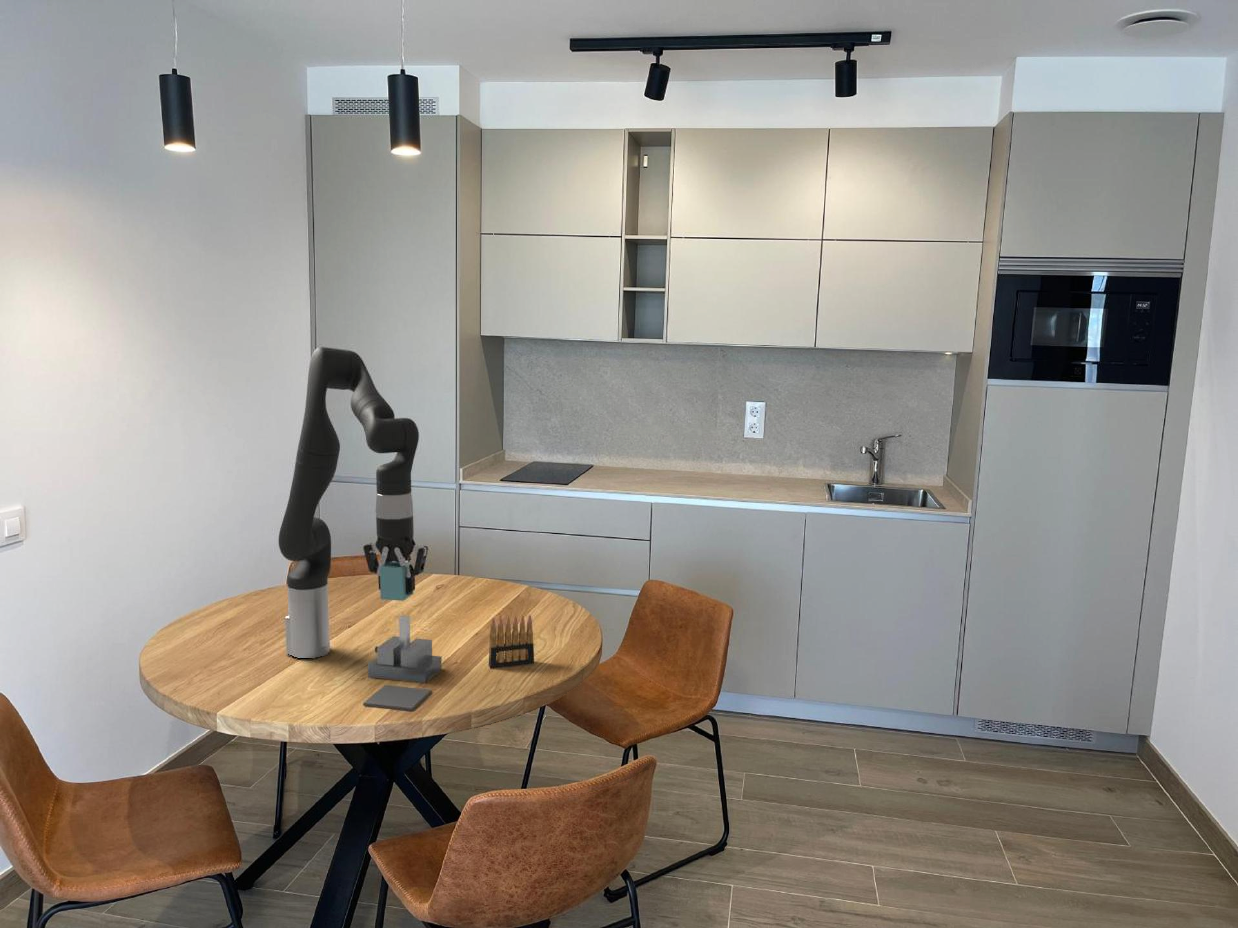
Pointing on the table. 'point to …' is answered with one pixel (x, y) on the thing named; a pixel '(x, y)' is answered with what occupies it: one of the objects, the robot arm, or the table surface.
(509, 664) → the ammunition clip
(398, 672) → the vise
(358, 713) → the table surface
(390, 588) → the sleeve
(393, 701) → the mat
